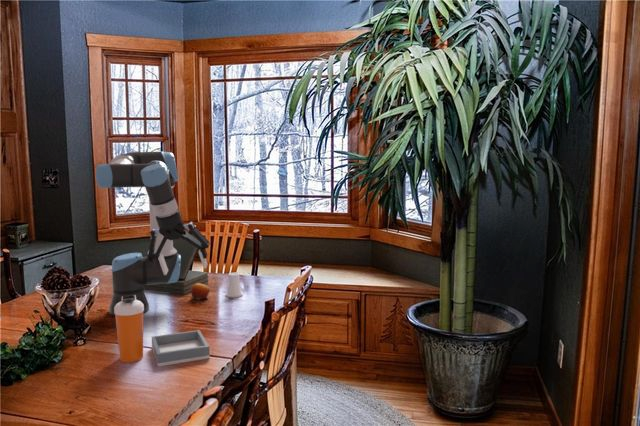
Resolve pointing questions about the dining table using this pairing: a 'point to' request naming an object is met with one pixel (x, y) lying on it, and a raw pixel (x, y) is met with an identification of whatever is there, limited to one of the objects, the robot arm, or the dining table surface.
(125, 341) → the shaker bottle
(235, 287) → the white cup
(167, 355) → the tray
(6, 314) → the dining table surface
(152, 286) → the grey angled stand
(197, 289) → the fruit
